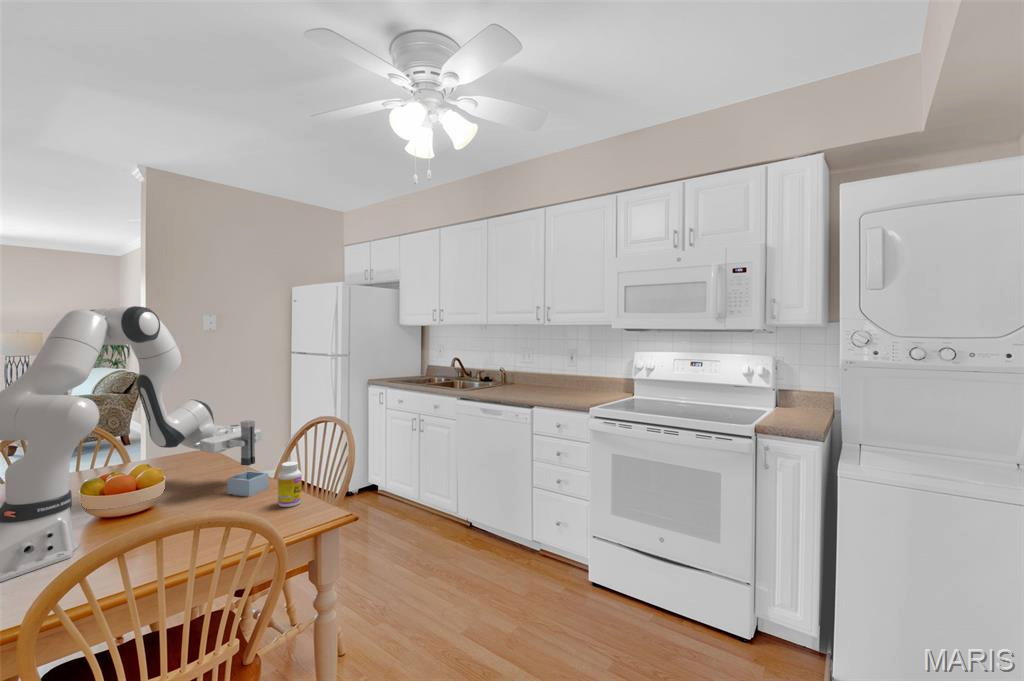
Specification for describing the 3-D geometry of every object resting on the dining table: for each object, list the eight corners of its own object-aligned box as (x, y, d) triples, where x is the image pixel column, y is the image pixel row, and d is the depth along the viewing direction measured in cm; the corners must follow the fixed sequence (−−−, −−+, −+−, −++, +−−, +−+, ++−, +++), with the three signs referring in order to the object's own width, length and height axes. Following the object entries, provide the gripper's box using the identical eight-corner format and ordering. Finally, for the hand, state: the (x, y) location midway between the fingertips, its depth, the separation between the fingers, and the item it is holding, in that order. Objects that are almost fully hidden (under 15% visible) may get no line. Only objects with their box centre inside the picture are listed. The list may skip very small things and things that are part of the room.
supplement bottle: (295, 508, 149) (295, 466, 148) (274, 507, 149) (273, 466, 148) (305, 500, 155) (304, 460, 155) (284, 499, 155) (284, 460, 155)
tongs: (248, 465, 161) (248, 422, 160) (240, 465, 161) (240, 422, 161) (255, 463, 164) (254, 420, 163) (247, 462, 164) (247, 420, 164)
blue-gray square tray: (249, 496, 158) (249, 480, 157) (227, 494, 160) (227, 478, 159) (268, 488, 166) (268, 472, 166) (247, 485, 168) (247, 470, 168)
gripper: (190, 436, 156) (222, 439, 152) (243, 423, 176) (273, 426, 171) (190, 455, 157) (222, 459, 152) (243, 440, 176) (273, 444, 172)
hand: (250, 442), depth 162 cm, fingers closed on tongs, 3 cm apart
